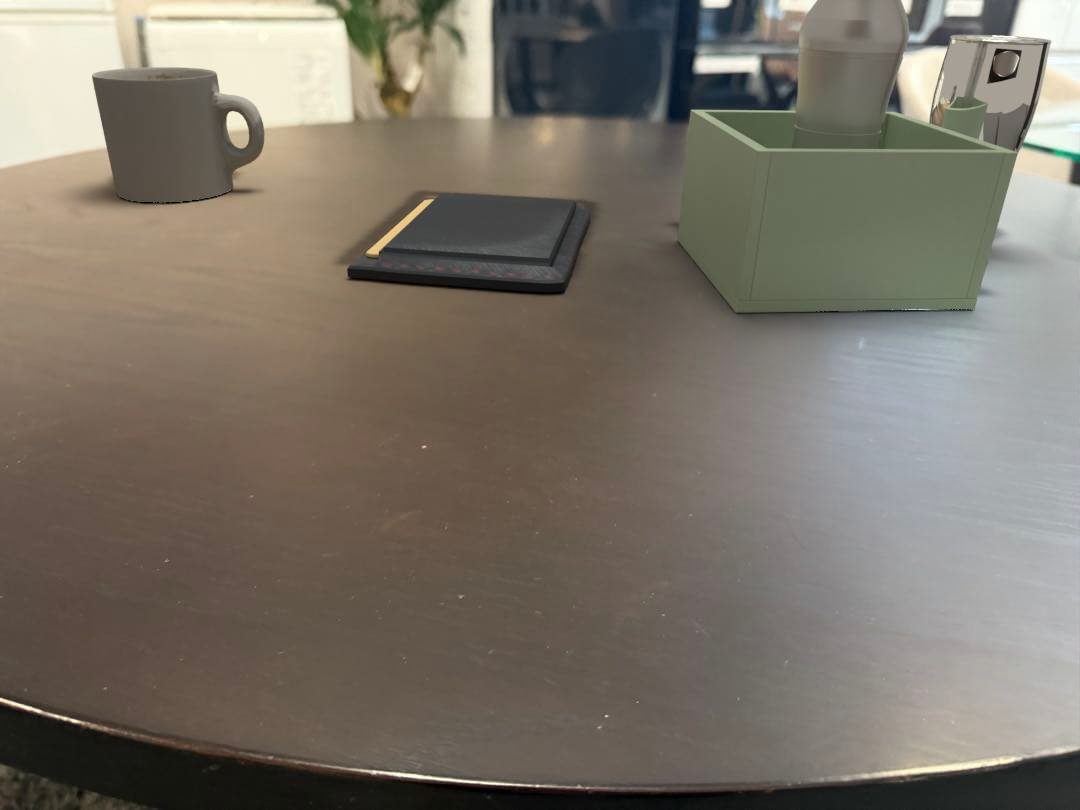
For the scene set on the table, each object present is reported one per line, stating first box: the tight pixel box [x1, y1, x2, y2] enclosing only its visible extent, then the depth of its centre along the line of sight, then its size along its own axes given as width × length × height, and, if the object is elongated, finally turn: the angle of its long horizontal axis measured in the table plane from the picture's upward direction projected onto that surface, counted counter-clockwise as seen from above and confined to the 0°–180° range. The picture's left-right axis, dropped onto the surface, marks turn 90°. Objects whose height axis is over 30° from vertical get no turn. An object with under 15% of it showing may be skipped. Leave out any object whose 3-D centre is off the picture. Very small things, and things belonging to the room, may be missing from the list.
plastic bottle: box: [791, 0, 910, 149], centre depth 54 cm, size 6×7×20 cm
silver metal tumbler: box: [928, 34, 1053, 156], centre depth 63 cm, size 7×7×15 cm
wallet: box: [346, 192, 591, 294], centre depth 63 cm, size 20×2×15 cm
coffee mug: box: [91, 66, 265, 204], centre depth 74 cm, size 13×10×10 cm
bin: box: [677, 109, 1019, 314], centre depth 57 cm, size 16×16×10 cm
